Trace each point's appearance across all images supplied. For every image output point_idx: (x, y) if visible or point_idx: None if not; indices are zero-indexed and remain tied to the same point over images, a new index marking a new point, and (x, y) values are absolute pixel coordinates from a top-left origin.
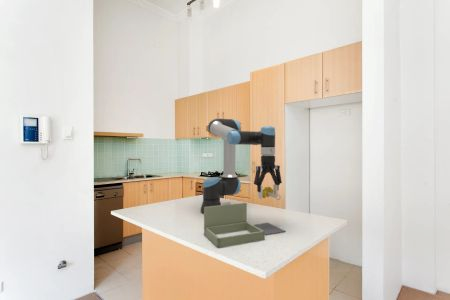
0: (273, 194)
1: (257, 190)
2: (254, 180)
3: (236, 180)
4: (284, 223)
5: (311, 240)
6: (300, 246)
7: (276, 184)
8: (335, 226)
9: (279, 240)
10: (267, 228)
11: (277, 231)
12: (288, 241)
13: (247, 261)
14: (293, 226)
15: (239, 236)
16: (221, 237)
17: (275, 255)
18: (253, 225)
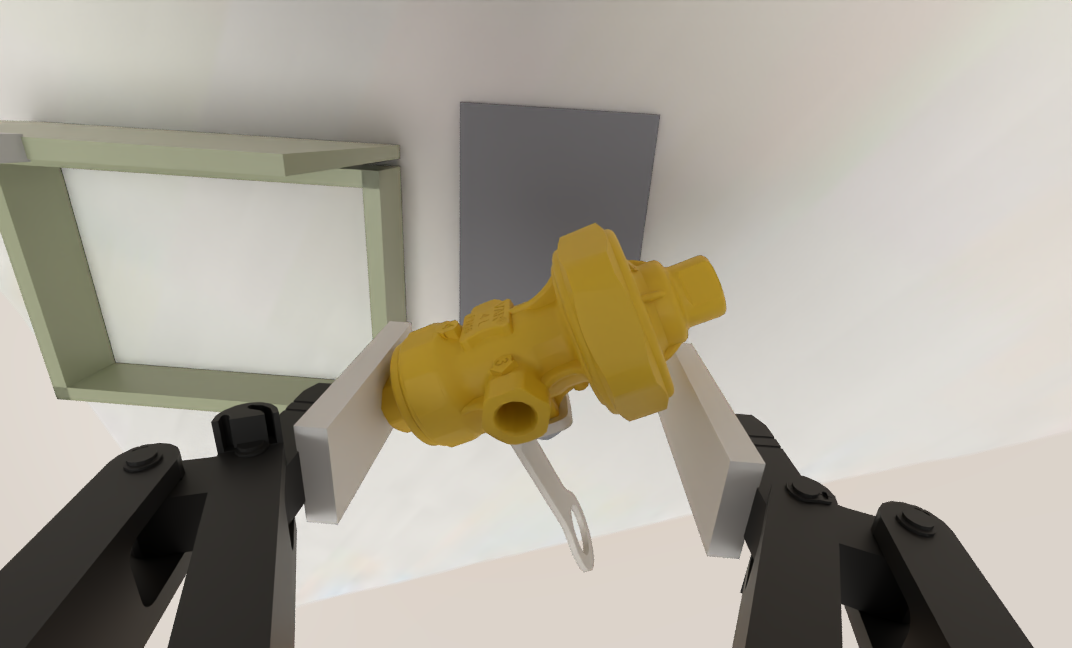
0: (547, 501)
1: (301, 399)
2: (56, 521)
3: None
4: (795, 184)
5: (648, 515)
6: (530, 538)
7: (749, 536)
8: (1047, 431)
9: (485, 440)
10: (545, 253)
11: None
12: (522, 471)
13: None
14: (786, 286)
15: (207, 406)
16: (81, 389)
17: (354, 550)
18: (383, 285)
